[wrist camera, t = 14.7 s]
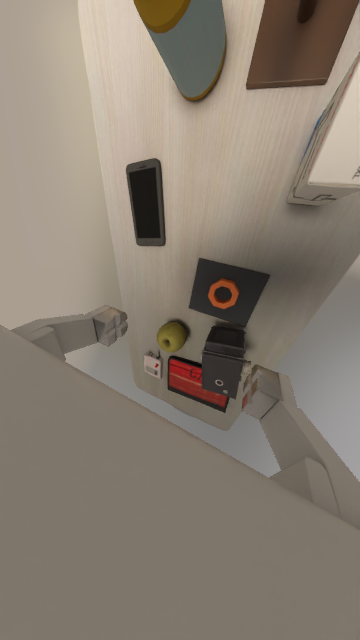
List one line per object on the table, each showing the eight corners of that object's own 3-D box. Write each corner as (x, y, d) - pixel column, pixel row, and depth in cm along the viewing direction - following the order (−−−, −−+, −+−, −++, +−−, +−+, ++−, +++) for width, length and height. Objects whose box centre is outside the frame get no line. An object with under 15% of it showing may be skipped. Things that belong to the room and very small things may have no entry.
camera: (245, 366, 41) (254, 320, 33) (243, 407, 33) (254, 359, 24) (207, 358, 45) (206, 315, 37) (196, 392, 37) (191, 347, 28)
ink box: (318, 117, 19) (383, 0, 9) (368, 115, 17) (503, -25, 8) (284, 204, 23) (304, 183, 14) (321, 207, 22) (371, 187, 13)
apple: (194, 325, 40) (184, 340, 35) (185, 345, 45) (175, 361, 39) (169, 312, 42) (156, 325, 36) (163, 333, 46) (150, 347, 41)
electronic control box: (147, 373, 60) (142, 379, 58) (146, 343, 52) (141, 349, 50) (162, 380, 58) (158, 386, 56) (163, 350, 50) (158, 356, 48)
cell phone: (138, 245, 36) (136, 246, 35) (127, 165, 29) (124, 164, 29) (165, 245, 33) (164, 246, 33) (160, 158, 27) (158, 156, 26)
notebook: (225, 414, 49) (167, 390, 56) (226, 407, 50) (169, 385, 58) (235, 379, 41) (166, 356, 48) (235, 373, 43) (169, 352, 50)
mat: (269, 274, 28) (269, 275, 28) (245, 326, 35) (245, 327, 35) (199, 258, 32) (199, 258, 32) (189, 307, 38) (188, 308, 38)
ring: (242, 283, 31) (241, 286, 29) (232, 308, 34) (231, 311, 32) (214, 276, 32) (212, 278, 31) (207, 300, 35) (205, 303, 34)
